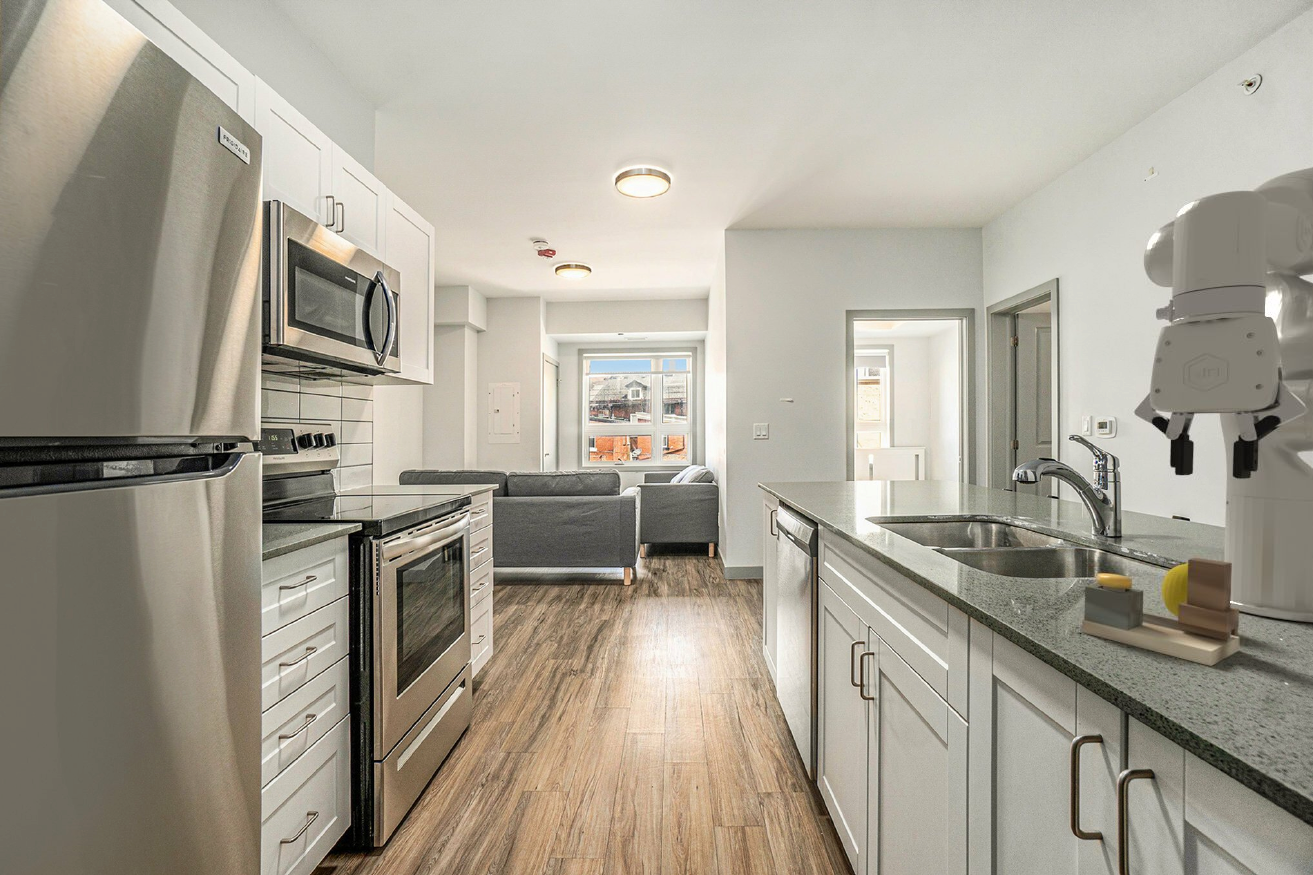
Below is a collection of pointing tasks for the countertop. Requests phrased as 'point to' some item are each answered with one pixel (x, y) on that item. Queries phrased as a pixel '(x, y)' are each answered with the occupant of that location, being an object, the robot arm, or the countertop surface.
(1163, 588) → the lemon
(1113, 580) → the button
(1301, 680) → the countertop surface
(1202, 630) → the block
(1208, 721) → the countertop surface
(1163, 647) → the rail base
